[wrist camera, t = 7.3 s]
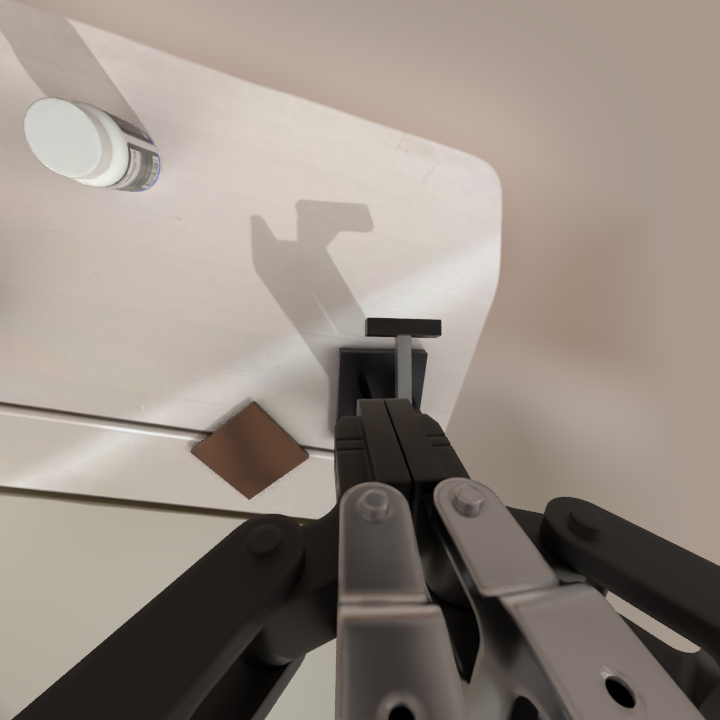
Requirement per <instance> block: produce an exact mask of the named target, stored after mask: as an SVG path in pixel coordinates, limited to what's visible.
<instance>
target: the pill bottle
mask: <svg viewBox="0 0 720 720" xmlns="http://www.w3.org/2000/svg"><path fill="white" fill-rule="evenodd" d="M24 133H25V137H26V140H27V143H28V145H29V147H30V149H31V150H32V152H33V153H34V155H35V156H36V157H37V158H38V159H39V160H40V161H41V162H42V163H43V164H44V165H45V166H46V167H48V168H49V169H51V170H52V171H54V172H56V173H58V174H61V175H64V176H67V177H71V178H72V179H74V180H76V181H78V182H80V183H82V184H85V185H87V186H91V187H99V188H107V189H115V190H123V191H131V192H142V191H146V190H148V189H150V188H152V187H153V186H154V185H156V183H157V182H158V180H159V178H160V176H161V173H162V160H161V156H160V153H159V150H158V148H157V146H156V145H155V143H154V142H153V140H152V139H151V138H150V137H149V136H148V135H147V134H146V133H145V132H143V131H142V130H140V129H139V128H137V127H135V126H133V125H132V124H129V123H127V122H125V121H123V120H121V119H119V118H117V117H115V116H113V115H111V114H109V113H107V112H105V111H103V110H101V109H99V108H97V107H95V106H92V105H90V104H87V103H82V102H69V101H66V100H64V99H60V98H52V97H50V98H43V99H40V100H37V101H36V102H34V103H33V104H32V105H31V106H30V107H29V108H28V110H27V112H26V114H25V117H24Z"/></svg>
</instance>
